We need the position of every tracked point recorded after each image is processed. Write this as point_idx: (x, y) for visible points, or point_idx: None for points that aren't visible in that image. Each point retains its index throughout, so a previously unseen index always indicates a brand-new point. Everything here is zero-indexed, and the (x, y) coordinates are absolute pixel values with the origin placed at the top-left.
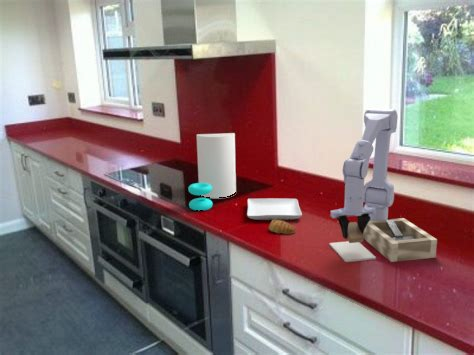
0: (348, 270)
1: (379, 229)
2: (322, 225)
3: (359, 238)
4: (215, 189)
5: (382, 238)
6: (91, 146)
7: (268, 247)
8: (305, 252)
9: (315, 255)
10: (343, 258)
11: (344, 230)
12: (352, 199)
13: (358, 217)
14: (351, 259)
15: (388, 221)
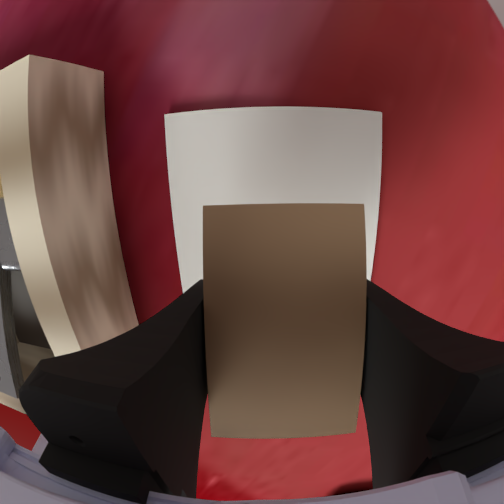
0: (395, 18)
1: (51, 342)
2: (279, 473)
3: (259, 204)
4: None
5: (51, 214)
6: None
7: None
8: (487, 285)
9: (473, 245)
10: (380, 149)
11: (415, 310)
12: None
13: (188, 471)
14: (342, 112)
15: (10, 389)
